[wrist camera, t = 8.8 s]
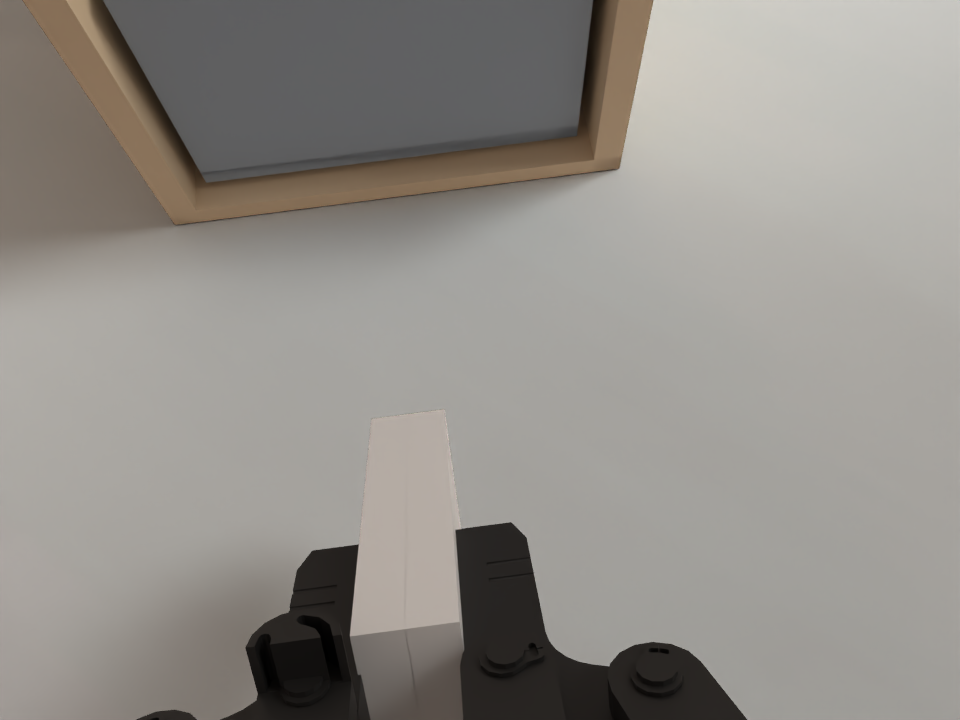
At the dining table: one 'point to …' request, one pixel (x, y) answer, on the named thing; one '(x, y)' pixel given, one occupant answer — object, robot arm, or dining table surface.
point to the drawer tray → (357, 77)
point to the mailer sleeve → (188, 198)
